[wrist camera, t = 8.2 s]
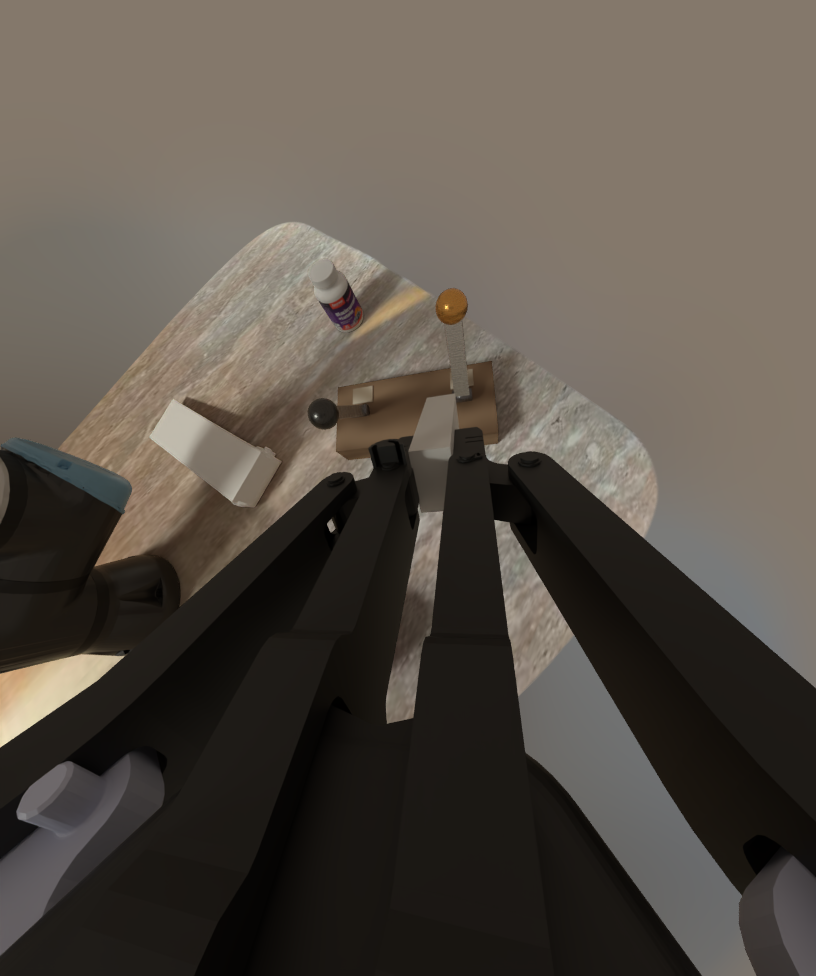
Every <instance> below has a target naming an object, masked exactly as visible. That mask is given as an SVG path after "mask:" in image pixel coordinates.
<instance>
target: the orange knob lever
mask: <svg viewBox="0 0 816 976" xmlns="http://www.w3.org/2000/svg"><path fill="white" fill-rule="evenodd" d="M467 307H468V304H467V299H466V296H465V295H464V293H463V292H461V291H460V290H458V289H455V288H450V289H447V290H445V291H444V292H442V293H441V294H440V296H439V297H438V299H437V302H436V314H437V316H438V318H439V320H440V321H441V322H443V323H444V326H445V333H446V340H447V347H448V354H449V360H450V367H451V374H452V381H453V388H454V390H452V394H455V397H456V403H459V402H466V401H473V400H472V388H469V383H468V373H467V363H466V353H465V343H464V334H463V324H462V319H463V318H464V316H465V315H466V312H467Z"/></svg>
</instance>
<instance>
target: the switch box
mask: <svg viewBox="0 0 816 976" xmlns="http://www.w3.org/2000/svg"><path fill="white" fill-rule="evenodd" d="M467 373H468V383H469V388H472V400H473V401H466V402H459V403H456V406H457V415H458V423H459V429H463V428H471V427H478V428H480V429H481V430H482V432H483V440H484V445H488V444H497V443H498V422H497V412H496V402H495V392H494V381H493V371H492V361H488V362H482V363H476V364H471V365H467ZM452 390H454V388H453V381H452V374H451V368H448V369H442V370H436V371H430V372H425V373H419V374H413V375H407V376H402V377H396V378H390V379H384V380H379V381H373V382H367V383H361V384H356V385H350V386H344V387H338V406H345V405H362V404H368V406H369V409H370V415H369V416H363V417H357V418H343V419H339V420H338V422H337V437H336V452H338V453H339V454H341V455H342V456H343V457H345V458H346V459H348V460H353V459H362V458H371V457H370V453H369V450H368V448H369V447H370V446H371V445H373V444H374V443H376V442H379V441H382V440H386V439H399V438H401V437H406V436H414V434H415V431H416V428H417V425H418V422H419V419H420V416H421V413H422V411H423V408H424V405H425V402H426V399H427V398H429V397H435V396H442V395H448V394H452Z"/></svg>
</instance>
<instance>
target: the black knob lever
mask: <svg viewBox="0 0 816 976" xmlns="http://www.w3.org/2000/svg"><path fill="white" fill-rule="evenodd" d="M369 415H370V409H369V406H368V404H362V405H345V406H336V405H335V403H334V402H332V401H331V400H329V399H325V398H320V399H316V400H315V401H313V402H312V403H311V404H310V406H309V408H308V418H309V420H310V422H311V423H312V424H313V425H314V426H315V427H317V428H319V429H330V428H332V427H333V426H335V425H336V423H337V422H338V420H339V419H343V418H357V417H363V416H369Z"/></svg>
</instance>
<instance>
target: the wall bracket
mask: <svg viewBox="0 0 816 976" xmlns="http://www.w3.org/2000/svg"><path fill="white" fill-rule="evenodd" d="M149 438H151V439H152V440H153V441H154V442H156V443H157V444H158V445H160V446H161V447H162V448H163V449H165V450H166V451H167V452H169V453H170V454H171V455H172V456H174V457H175V458H176V459H177V460H179V461H180V462H181V463H183V464H184V465H185V466H186V467H188V468H189V469H190V470H192V471H193V472H194V473H195V474H197V475H198V476H199V477H200V478H202V479H203V480H204V481H206V482H207V483H208V484H209V485H211V486H212V487H213V488H215V489H216V490H217V491H218V492H220V493H221V494H222V495H223V496H225V497H226V498H227V499H229V500H230V501H231V502H232V504H234V505H236V506H240V507H245V506H246V507H252V508H253V507H255V506H256V505H257V503H258V501H259V500H260V498H261V496H262V494H263V493H264V491H265V489H266V488H267V486H268V484H269V482H270V481H271V479H272V477H273V476H274V474H275V472H276V470H277V469H278V467H279V465H280V464H281V462H282V461H281V460H279V459H277V458H275V457H274V456H275V455H276V453H274V452H273V451H272V449H270V448H268V447H266V446H265V448H262V447H259V446H256V447H254V446H253V445H251V444H249V443H247V442H246V441H244V440H242V439H240V438H239V437H237V436H235V435H233V434H232V433H230V432H228V431H227V430H225V429H223V428H221V427H220V426H218V425H216V424H215V423H213V422H211V421H210V420H208V419H206V418H205V417H203V416H201V415H200V414H198V413H196V412H195V411H193V410H191V409H190V408H188V407H186V406H185V405H183V404H181V403H180V402H178V401H176V400H174V399H173V400H172V401H171V403H170V405H169V406H168V408H167V409H166V411H165V413H164V414H163V416H162V417H161V419H160V421H159V422H158V424H157V425H156V427H155V429H154V430H153V432H152V434H151V435H150V437H149Z"/></svg>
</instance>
